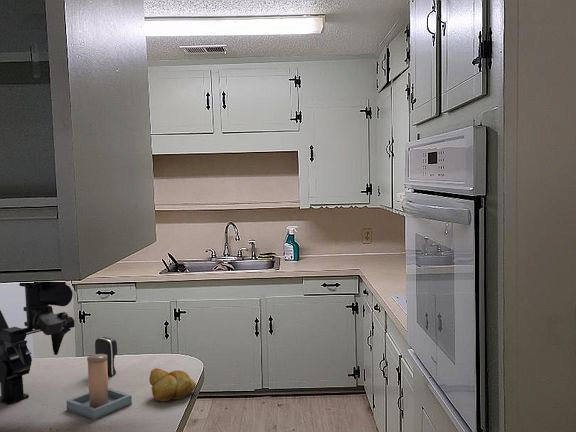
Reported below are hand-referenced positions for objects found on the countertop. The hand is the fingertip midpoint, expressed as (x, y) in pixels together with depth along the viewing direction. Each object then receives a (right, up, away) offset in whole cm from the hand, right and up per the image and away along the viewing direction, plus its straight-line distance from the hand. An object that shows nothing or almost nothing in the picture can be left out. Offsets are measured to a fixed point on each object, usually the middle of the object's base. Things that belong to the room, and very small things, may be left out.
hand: (40, 359), depth 159 cm
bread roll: (+35, -12, +6) cm, 38 cm away
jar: (+16, -12, -1) cm, 20 cm away
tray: (+16, -13, -1) cm, 21 cm away
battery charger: (+10, -11, +26) cm, 30 cm away
